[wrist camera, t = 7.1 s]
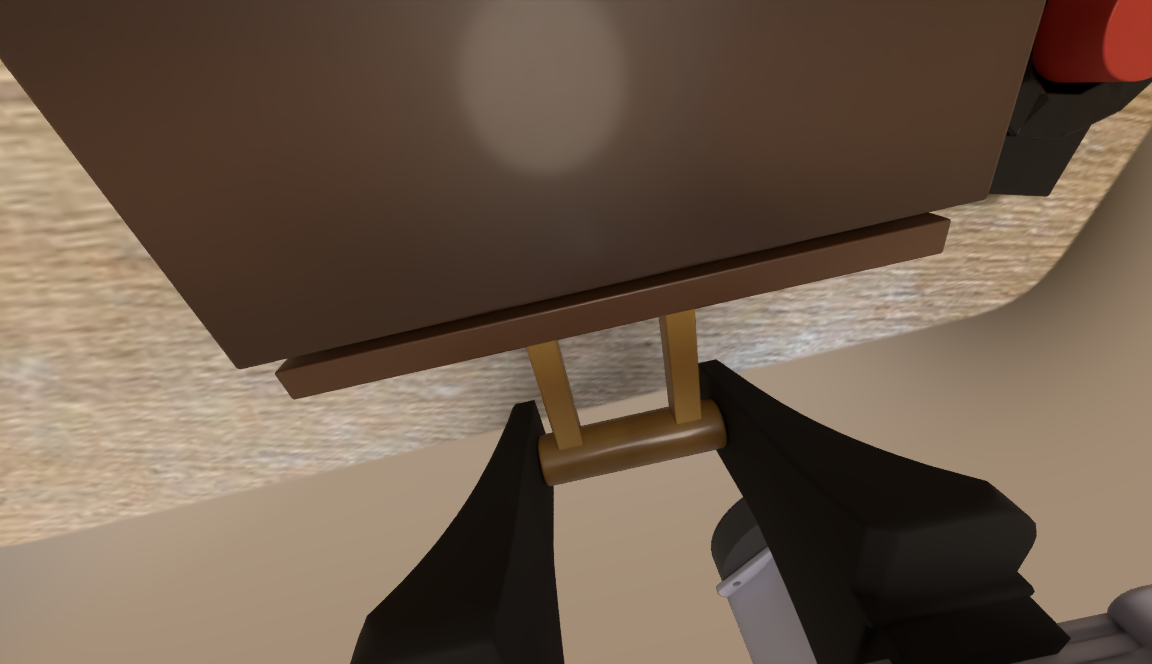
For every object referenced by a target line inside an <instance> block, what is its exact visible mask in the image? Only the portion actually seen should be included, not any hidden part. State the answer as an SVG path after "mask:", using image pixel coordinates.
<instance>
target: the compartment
mask: <svg viewBox="0 0 1152 664" xmlns="http://www.w3.org/2000/svg"><path fill="white" fill-rule="evenodd" d="M1045 3H1046V0H0V59H1V61H2V62H3V63H4V65H5V66H6V67H7V68H8V70H9V71H10V72H11V74H12V75H13V76H14V78H15V79H16V80H17V82H18V83H19V84H20V85H21V87H22V88H23V89H24V91H25V92H26V93H27V95H28V96H29V97H30V99H31V100H32V101H33V102H34V104H35V105H36V106H37V108H38V109H39V110H40V112H41V113H42V114H43V116H44V117H45V118H46V119H47V121H48V122H49V123H50V125H51V126H52V127H53V129H54V130H55V131H56V133H57V134H58V135H59V136H60V138H61V139H62V140H63V142H64V143H65V144H66V146H67V147H68V148H69V150H70V151H71V152H72V153H73V155H74V156H75V157H76V159H77V160H78V161H79V163H80V164H81V165H82V167H83V168H84V169H85V170H86V172H87V173H88V174H89V176H90V177H91V178H92V180H93V181H94V182H95V184H96V185H97V186H98V187H99V189H100V190H101V191H102V193H103V194H104V195H105V197H106V198H107V199H108V201H109V202H110V203H111V204H112V206H113V207H114V208H115V210H116V211H117V212H118V214H119V215H120V216H121V218H122V219H123V220H124V221H125V223H126V224H127V225H128V227H129V228H130V229H131V231H132V232H133V233H134V235H135V236H136V237H137V238H138V240H139V241H140V242H141V244H142V245H143V246H144V248H145V249H146V250H147V252H148V253H149V254H150V255H151V257H152V258H153V259H154V261H155V262H156V263H157V265H158V266H159V267H160V269H161V270H162V271H163V272H164V274H165V275H166V276H167V278H168V279H169V280H170V282H171V283H172V284H173V286H174V287H175V288H176V289H177V291H178V292H179V293H180V295H181V296H182V297H183V299H184V300H185V301H186V303H187V304H188V305H189V306H190V308H191V309H192V310H193V312H194V313H195V314H196V316H197V317H198V318H199V320H200V321H201V322H202V323H203V325H204V326H205V327H206V329H207V330H208V331H209V333H210V334H211V335H212V337H213V338H214V339H215V340H216V342H217V343H218V344H219V346H220V347H221V348H222V350H223V351H224V352H225V354H226V355H227V356H228V357H229V359H230V360H231V361H232V363H233V364H234V365H235V367H236V368H238V369H244V368H248V367H253V366H257V365H261V364H266V363H270V362H275V361H278V360H283V359H287V358H292V357H296V356H300V355H305V354H309V353H313V352H318V351H322V350H327V349H331V348H335V347H340V346H344V345H349V344H353V343H357V342H362V341H366V340H370V339H375V338H379V337H384V336H388V335H392V334H397V333H401V332H406V331H410V330H414V329H419V328H423V327H427V326H432V325H436V324H441V323H445V322H449V321H454V320H458V319H463V318H467V317H471V316H476V315H480V314H484V313H489V312H493V311H498V310H502V309H506V308H511V307H515V306H520V305H524V304H528V303H533V302H537V301H541V300H546V299H550V298H555V297H559V296H563V295H568V294H572V293H577V292H581V291H585V290H590V289H594V288H599V287H603V286H607V285H612V284H616V283H620V282H625V281H629V280H634V279H638V278H642V277H647V276H651V275H656V274H660V273H664V272H669V271H673V270H677V269H682V268H686V267H691V266H695V265H699V264H704V263H708V262H713V261H717V260H721V259H726V258H730V257H734V256H739V255H743V254H748V253H752V252H756V251H761V250H765V249H770V248H774V247H778V246H783V245H787V244H791V243H796V242H800V241H805V240H809V239H813V238H818V237H822V236H827V235H831V234H835V233H840V232H844V231H848V230H853V229H857V228H862V227H866V226H870V225H875V224H879V223H884V222H888V221H892V220H897V219H901V218H905V217H910V216H914V215H919V214H923V213H927V212H932V211H936V210H941V209H945V208H949V207H954V206H958V205H963V204H967V203H971V202H976V201H980V200H984V199H986V198H987V196H988V194H989V190H990V187H991V184H992V180H993V177H994V174H995V170H996V167H997V163H998V160H999V157H1000V153H1001V150H1002V147H1003V143H1004V140H1005V137H1006V133H1007V130H1008V127H1009V123H1010V120H1011V117H1012V113H1013V110H1014V106H1015V103H1016V100H1017V96H1018V93H1019V90H1020V86H1021V83H1022V80H1023V76H1024V73H1025V70H1026V66H1027V63H1028V60H1029V56H1030V53H1031V50H1032V46H1033V43H1034V39H1035V36H1036V33H1037V29H1038V26H1039V23H1040V19H1041V16H1042V13H1043V9H1044V6H1045Z"/></svg>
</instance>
